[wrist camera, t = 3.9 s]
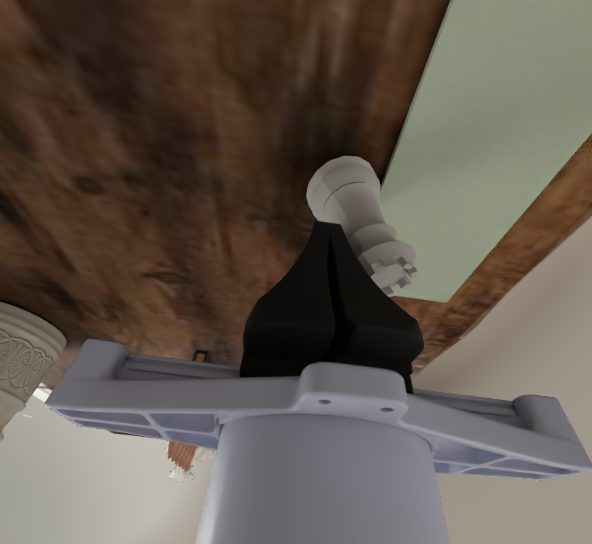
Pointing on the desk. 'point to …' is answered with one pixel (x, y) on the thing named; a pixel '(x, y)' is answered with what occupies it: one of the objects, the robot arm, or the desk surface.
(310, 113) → the desk surface
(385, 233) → the rook chess piece
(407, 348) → the robot arm
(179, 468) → the white tied sack
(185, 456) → the ammunition clip
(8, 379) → the jar
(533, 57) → the mat
